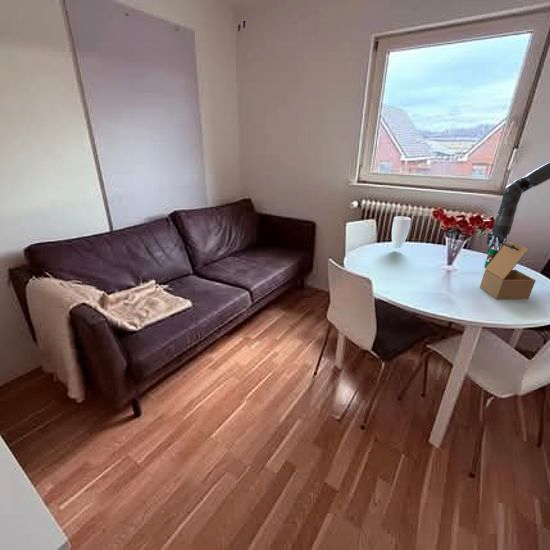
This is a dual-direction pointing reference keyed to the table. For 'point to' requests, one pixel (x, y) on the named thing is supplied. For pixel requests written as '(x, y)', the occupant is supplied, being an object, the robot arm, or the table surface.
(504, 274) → the flap
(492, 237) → the robot arm
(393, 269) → the table surface
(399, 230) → the white vase
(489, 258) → the soda can
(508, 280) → the carton
